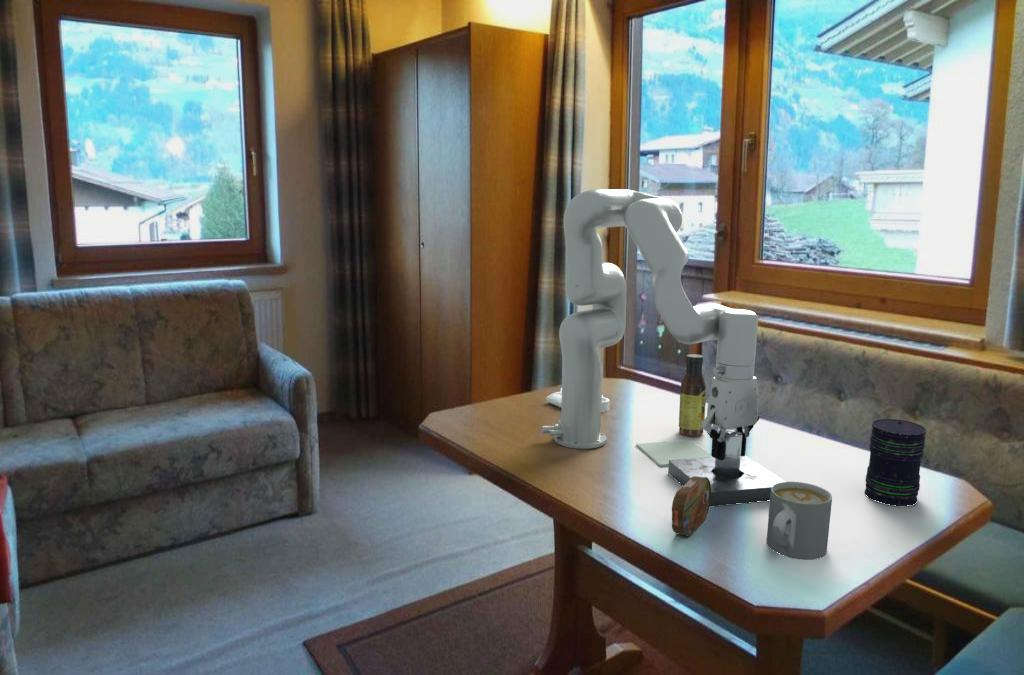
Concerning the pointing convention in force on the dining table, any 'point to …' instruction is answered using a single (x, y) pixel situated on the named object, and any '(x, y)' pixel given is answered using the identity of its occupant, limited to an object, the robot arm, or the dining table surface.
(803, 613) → the dining table surface
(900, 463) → the storage jar
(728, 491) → the plate
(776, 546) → the coffee mug
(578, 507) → the dining table surface
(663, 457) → the sage mat
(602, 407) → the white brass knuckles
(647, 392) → the dining table surface
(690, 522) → the tin
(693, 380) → the sauce bottle
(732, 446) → the aluminium plug
